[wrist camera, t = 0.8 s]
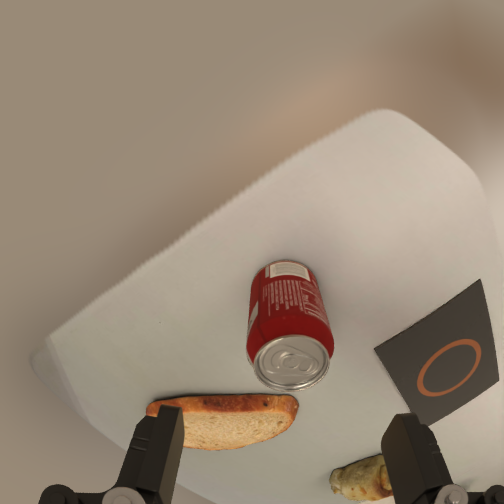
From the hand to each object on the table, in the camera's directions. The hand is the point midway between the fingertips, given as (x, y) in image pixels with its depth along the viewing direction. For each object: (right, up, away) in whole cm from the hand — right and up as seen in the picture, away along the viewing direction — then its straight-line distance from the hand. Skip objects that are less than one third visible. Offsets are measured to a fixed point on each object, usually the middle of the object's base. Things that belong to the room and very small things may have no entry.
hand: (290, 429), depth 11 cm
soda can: (+2, +3, +23) cm, 23 cm away
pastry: (+20, -34, +38) cm, 55 cm away
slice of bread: (-6, -16, +31) cm, 35 cm away
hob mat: (+27, -10, +27) cm, 40 cm away
